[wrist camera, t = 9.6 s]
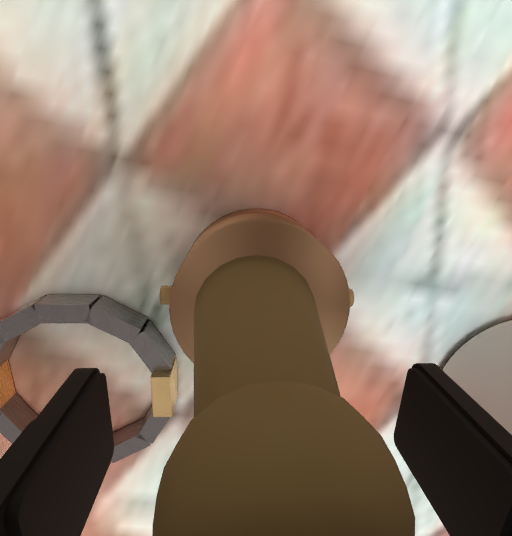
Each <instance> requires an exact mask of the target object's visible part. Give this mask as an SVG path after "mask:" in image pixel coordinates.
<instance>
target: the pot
mask: <svg viewBox="0 0 512 536" xmlns="http://www.w3.org/2000/svg"><path fill="white" fill-rule="evenodd" d="M253 255H261V256H267V257H273V258H277V259H279V260H281V261H283V262H285V263H287V264H289V265H291V266H293V267H294V268H295V269H296V270H297V271H298V272H299V273H300V274H301V275H302V276H303V277H304V278H305V279H306V280H307V283H308V285H309V287H310V289H311V292H312V294H313V296H314V300H315V303H316V307H317V311H318V315H319V318H320V322H321V326H322V329H323V333H324V337H325V341H326V344H327V348H328V352H329V355H330V354H331V352H332V351H333V350H334V348H335V347H336V346H337V344H338V343H339V341H340V339H341V337H342V335H343V333H344V330H345V327H346V324H347V321H348V316H349V309H350V306H352V305H353V302H354V293H353V291H352V289H349V288H348V283H347V280H346V277H345V274H344V272H343V269H342V268H341V266H340V264H339V262H338V261H337V259H336V258H335V257H334V255H333V254H332V253H331V251H330V250H329V249H328V248H327V247H326V246H325V245H324V244H323V243H321V242H320V241H319V240H318V239H317V238H316V237H314V236H313V235H312V234H311V233H310V232H309V231H307V230H306V229H305V228H304V227H303V226H302V225H300V224H299V223H298V222H296V221H295V220H293V219H292V218H290V217H288V216H286V215H284V214H281V213H278V212H275V211H271V210H266V209H246V210H240V211H236V212H233V213H230V214H228V215H225V216H223V217H221V218H219V219H218V220H216V221H215V222H213V223H212V224H211V225H209V226H208V227H207V228H206V229H205V230H204V231H203V232H202V233H201V234H200V235H199V237H198V238H197V240H196V241H195V243H194V244H193V246H192V248H191V250H190V251H189V253H188V255H187V257H186V259H185V260H184V262H183V264H182V266H181V267H180V269H179V271H178V273H177V275H176V277H175V280H174V283H173V286H162V287H161V290H160V303H161V304H170V308H169V312H170V320H171V325H172V328H173V332H174V335H175V337H176V339H177V341H178V343H179V345H180V347H181V348H182V350H183V351H184V353H185V354H186V355H187V356H188V358H189V359H190V360H191V361H192V362H193V363H194V309H195V302H196V296H197V294H198V292H199V290H200V288H201V286H202V284H203V282H204V281H205V279H206V278H207V277H208V276H209V275H210V274H211V273H212V272H213V271H215V270H216V269H217V268H218V267H219V266H221V265H223V264H225V263H227V262H229V261H231V260H233V259H235V258H238V257H245V256H253Z"/></svg>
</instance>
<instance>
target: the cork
mask: <svg viewBox="0 0 512 536" xmlns="http://www.w3.org/2000/svg"><path fill="white" fill-rule="evenodd" d="M153 536H415V516H414V512H413V509H412V505H411V501H410V498H409V494H408V491H407V487H406V485H405V482H404V480H403V478H402V475H401V473H400V471H399V468H398V466H397V464H396V461H395V459H394V458H393V456H392V454H391V452H390V450H389V449H388V447H387V445H386V443H385V442H384V440H383V438H382V436H381V435H380V434H379V433H378V432H377V431H376V430H375V429H374V428H373V426H372V425H371V424H370V423H369V422H368V421H367V420H366V419H365V418H364V417H363V416H362V415H361V414H360V413H359V412H358V411H357V410H356V409H354V408H353V407H352V406H351V405H350V404H349V403H348V402H347V401H346V400H345V399H344V398H342V397H341V396H340V393H339V389H338V385H337V381H336V378H335V374H334V370H333V367H332V363H331V359H330V355H329V352H328V348H327V344H326V341H325V337H324V333H323V329H322V326H321V322H320V318H319V315H318V311H317V307H316V303H315V300H314V296H313V294H312V292H311V289H310V287H309V285H308V283H307V280H306V279H305V278H304V277H303V276H302V275H301V274H300V273H299V272H298V271H297V270H296V269H295V268H294V267H293V266H291V265H289V264H287V263H285V262H283V261H281V260H279V259H277V258H273V257H267V256H261V255H253V256H245V257H238V258H235V259H233V260H231V261H229V262H227V263H225V264H223V265H221V266H219V267H218V268H217V269H216V270H215V271H213V272H212V273H211V274H210V275H209V276H208V277H207V278H206V279H205V281H204V282H203V284H202V286H201V288H200V290H199V292H198V294H197V296H196V302H195V309H194V418H193V419H192V420H191V421H190V423H189V425H188V426H187V428H186V430H185V431H184V433H183V435H182V436H181V438H180V440H179V441H178V443H177V445H176V447H175V448H174V450H173V452H172V454H171V456H170V458H169V460H168V461H167V463H166V465H165V467H164V470H163V474H162V478H161V482H160V485H159V489H158V493H157V498H156V505H155V513H154V520H153Z"/></svg>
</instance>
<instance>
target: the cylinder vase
mask: <svg viewBox="0 0 512 536" xmlns="http://www.w3.org/2000/svg"><path fill="white" fill-rule="evenodd" d="M443 371H444V372H445V373H446V374H447V375H448V376H449V377H450V378H451V379H452V380H453V381H454V382H456V383H457V384H458V385H459V386H460V387H461V388H462V389H463V390H464V391H465V392H466V393H467V394H468V395H469V396H471V397H472V398H473V399H474V400H475V401H476V402H477V403H478V404H479V405H480V406H481V407H482V408H483V409H484V410H486V411H487V412H488V413H489V414H490V415H491V416H492V417H493V418H494V419H495V420H496V421H497V422H498V423H499V424H501V425H502V426H503V427H504V428H505V429H506V430H507V431H508V432H509V433H510V434H511V435H512V320H510V321H506V322H503V323H500V324H497V325H495V326H493V327H490V328H488V329H486V330H484V331H482V332H481V333H479V334H477V335H476V336H474V337H473V338H471V339H470V340H469V341H467V342H466V343H465V344H464V345H463V346H462V347H460V348H459V349H458V350H457V351H456V352H455V353H454V355H453V356H452V357H451V358H450V359H449V361H448V362H447V363H446V365H445V366H444V368H443Z"/></svg>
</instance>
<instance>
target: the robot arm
mask: <svg viewBox="0 0 512 536" xmlns="http://www.w3.org/2000/svg"><path fill="white" fill-rule="evenodd" d="M394 442H395V445H396V447H397V449H398V451H399V452H400V454H401V456H402V457H403V459H404V461H405V462H406V464H407V465H408V467H409V469H410V470H411V472H412V474H413V475H414V477H415V479H416V480H417V482H418V484H419V485H420V487H421V489H422V490H423V492H424V494H425V495H426V497H427V499H428V500H429V502H430V503H431V505H432V507H433V508H434V510H435V512H436V513H437V515H438V517H439V518H440V520H441V522H442V523H443V525H444V527H445V528H446V530H447V532H448V533H449V535H450V536H512V435H511V434H510V433H509V432H508V431H507V430H506V429H505V428H504V427H503V426H502V425H501V424H499V423H498V422H497V421H496V420H495V419H494V418H493V417H492V416H491V415H490V414H489V413H488V412H487V411H486V410H484V409H483V408H482V407H481V406H480V405H479V404H478V403H477V402H476V401H475V400H474V399H473V398H472V397H471V396H469V395H468V394H467V393H466V392H465V391H464V390H463V389H462V388H461V387H460V386H459V385H458V384H457V383H456V382H454V381H453V380H452V379H451V378H450V377H449V376H448V375H447V374H446V373H445V372H444V371H443V370H442V369H441V368H439V367H438V366H437V365H436V364H433V363H416V364H414V365H413V366H412V368H410V369H409V370H408V372H407V376H406V381H405V386H404V390H403V395H402V399H401V404H400V409H399V413H398V418H397V422H396V427H395V431H394ZM113 452H114V439H113V431H112V423H111V415H110V407H109V399H108V391H107V382H106V376H105V374H104V373H100V371H99V370H98V369H97V368H77V369H75V370H74V371H73V372H72V373H71V375H70V376H69V377H68V378H67V380H66V381H65V382H64V383H63V385H62V386H61V387H60V389H59V390H58V391H57V392H56V394H55V395H54V396H53V397H52V399H51V400H50V401H49V403H48V404H47V405H46V406H45V408H44V409H43V410H42V412H41V413H40V414H39V415H38V417H37V418H36V419H35V420H33V421H31V422H30V423H29V424H28V425H27V426H26V428H25V429H24V430H23V431H22V433H21V434H20V435H19V436H18V438H17V439H16V440H15V441H14V443H13V444H12V445H11V446H10V448H9V449H8V450H7V451H6V453H5V454H4V455H3V456H2V458H1V459H0V536H80V535H81V533H82V531H83V528H84V526H85V523H86V521H87V518H88V516H89V513H90V511H91V509H92V506H93V504H94V501H95V499H96V496H97V494H98V491H99V489H100V487H101V484H102V482H103V479H104V477H105V474H106V472H107V470H108V467H109V465H110V462H111V460H112V457H113Z"/></svg>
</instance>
